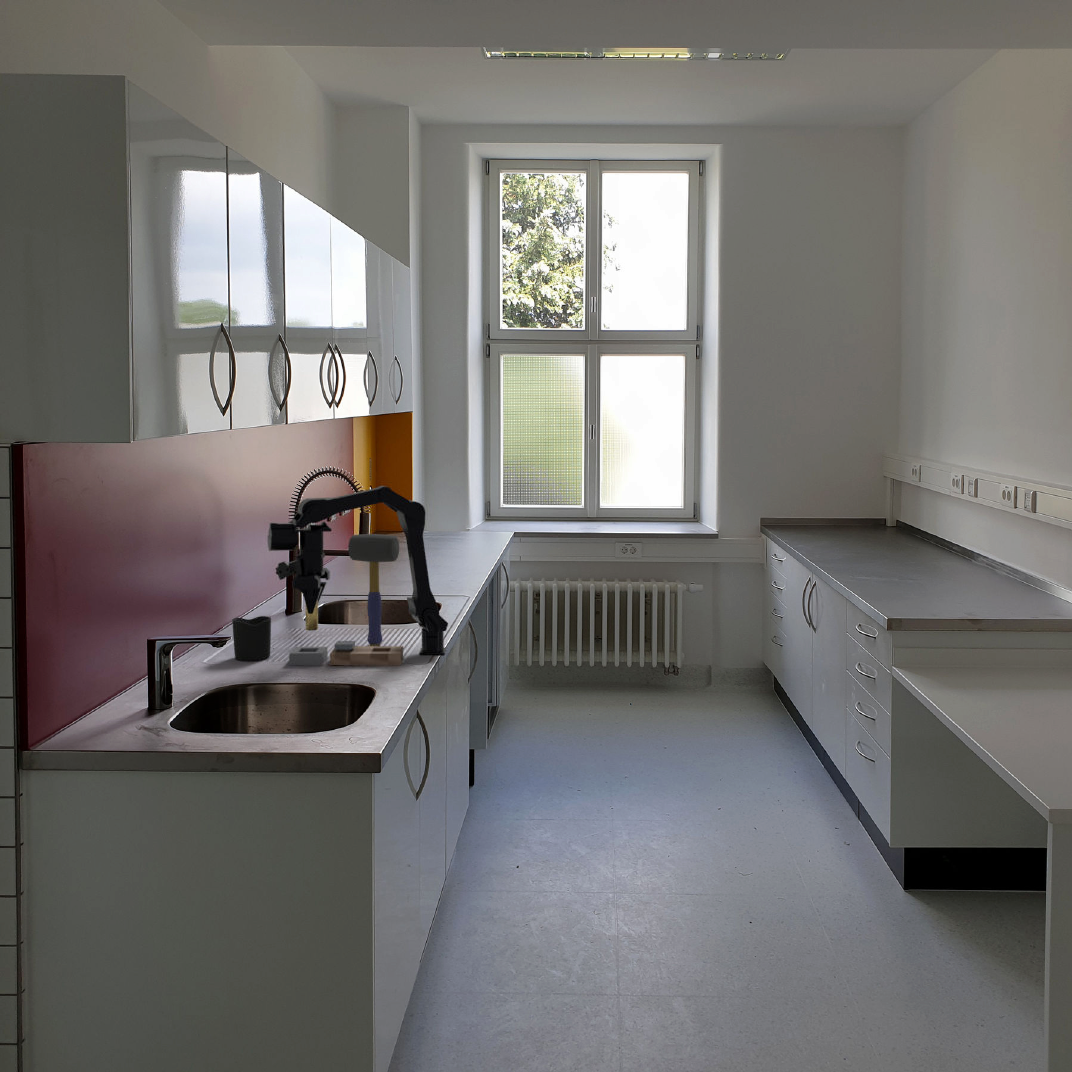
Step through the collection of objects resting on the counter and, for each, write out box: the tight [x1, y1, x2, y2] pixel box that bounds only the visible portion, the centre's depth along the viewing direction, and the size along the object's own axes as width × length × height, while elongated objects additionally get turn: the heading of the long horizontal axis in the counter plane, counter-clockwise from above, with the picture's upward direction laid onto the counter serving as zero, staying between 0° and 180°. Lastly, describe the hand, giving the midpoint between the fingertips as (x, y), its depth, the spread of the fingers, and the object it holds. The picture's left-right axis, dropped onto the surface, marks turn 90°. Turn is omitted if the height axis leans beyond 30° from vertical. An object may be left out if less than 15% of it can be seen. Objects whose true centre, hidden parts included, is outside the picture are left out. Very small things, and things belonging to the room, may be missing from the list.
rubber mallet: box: [347, 533, 400, 646], centre depth 283 cm, size 12×8×30 cm, turn 78°
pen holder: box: [231, 615, 272, 662], centre depth 268 cm, size 9×9×10 cm
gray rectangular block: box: [334, 640, 356, 651], centre depth 264 cm, size 4×4×5 cm
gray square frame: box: [288, 646, 329, 666], centre depth 264 cm, size 8×8×3 cm
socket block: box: [329, 645, 404, 667], centre depth 264 cm, size 9×17×3 cm, turn 92°
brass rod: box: [305, 600, 319, 632], centre depth 262 cm, size 3×3×8 cm
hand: (311, 612), depth 262 cm, fingers closed on brass rod, 3 cm apart
